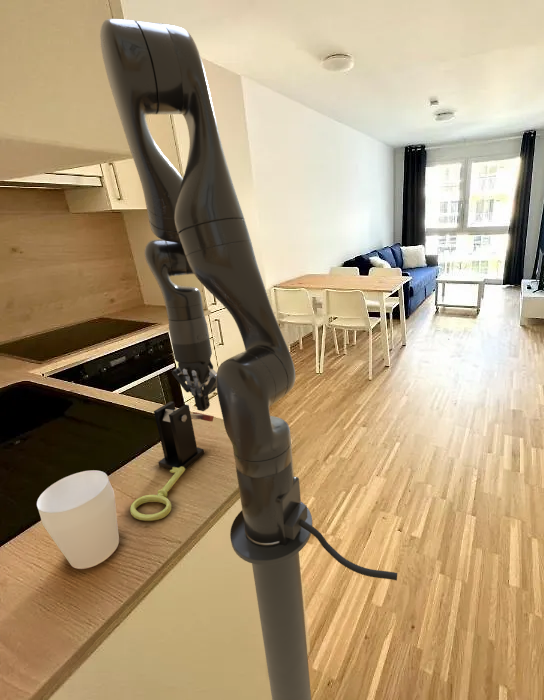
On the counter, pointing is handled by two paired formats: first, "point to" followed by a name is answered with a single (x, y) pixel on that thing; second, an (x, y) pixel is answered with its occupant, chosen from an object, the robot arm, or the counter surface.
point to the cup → (81, 517)
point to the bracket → (177, 437)
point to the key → (157, 499)
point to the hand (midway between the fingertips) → (203, 409)
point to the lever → (193, 416)
